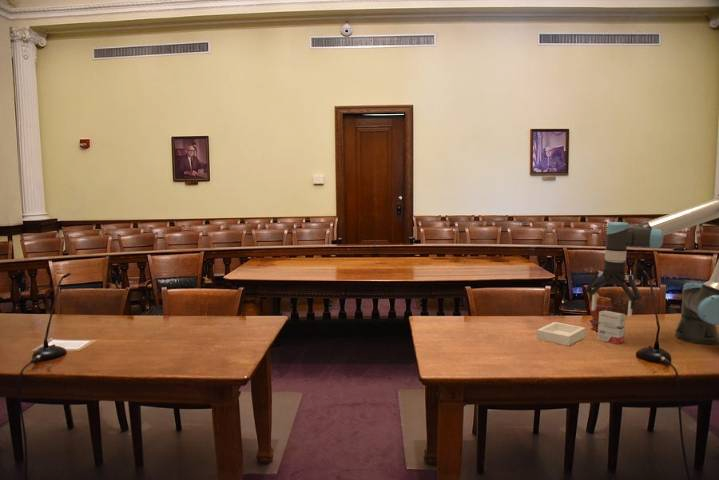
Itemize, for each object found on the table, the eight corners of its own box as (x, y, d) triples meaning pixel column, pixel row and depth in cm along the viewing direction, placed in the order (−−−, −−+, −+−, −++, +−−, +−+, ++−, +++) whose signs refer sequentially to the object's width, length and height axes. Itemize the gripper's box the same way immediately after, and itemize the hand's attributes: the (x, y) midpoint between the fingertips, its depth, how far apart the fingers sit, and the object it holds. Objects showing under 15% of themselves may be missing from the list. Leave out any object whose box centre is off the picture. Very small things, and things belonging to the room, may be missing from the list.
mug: (615, 333, 211) (617, 298, 209) (596, 333, 211) (598, 298, 209) (599, 324, 225) (601, 291, 224) (581, 323, 225) (583, 291, 224)
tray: (585, 336, 206) (585, 327, 206) (568, 345, 194) (568, 336, 194) (554, 330, 215) (554, 321, 215) (536, 338, 203) (536, 329, 203)
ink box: (624, 342, 199) (625, 313, 198) (618, 344, 196) (620, 315, 194) (602, 337, 205) (604, 309, 204) (597, 339, 202) (598, 311, 201)
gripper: (653, 263, 191) (648, 317, 193) (586, 256, 208) (582, 305, 211) (647, 265, 186) (642, 321, 188) (579, 258, 203) (576, 308, 205)
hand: (611, 313), depth 199 cm, fingers open, 13 cm apart
